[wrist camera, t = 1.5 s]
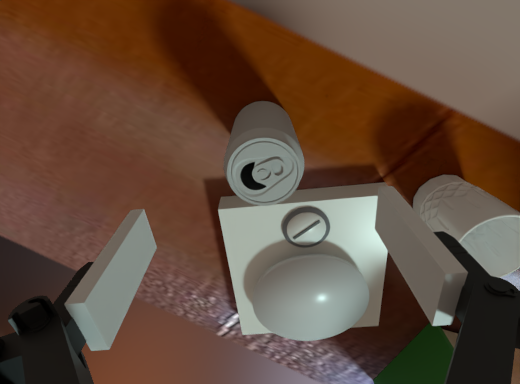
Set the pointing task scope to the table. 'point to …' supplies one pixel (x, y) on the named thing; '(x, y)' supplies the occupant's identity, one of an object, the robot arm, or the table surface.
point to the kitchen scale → (306, 261)
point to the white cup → (472, 221)
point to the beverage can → (263, 155)
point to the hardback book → (422, 359)
